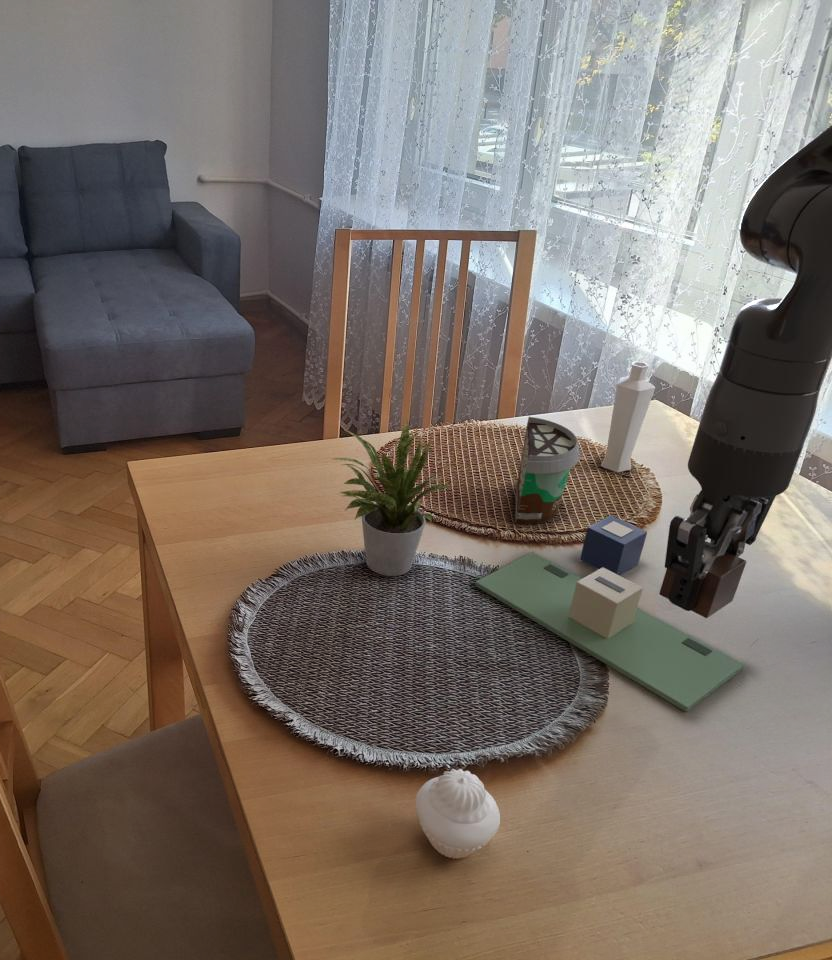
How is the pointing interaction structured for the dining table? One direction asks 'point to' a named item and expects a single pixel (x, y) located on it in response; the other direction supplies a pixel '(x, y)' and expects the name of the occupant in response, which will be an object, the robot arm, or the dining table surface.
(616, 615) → the cream block
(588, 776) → the dining table surface
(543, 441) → the food container
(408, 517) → the house plant
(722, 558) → the walnut block
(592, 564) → the navy block
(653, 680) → the green board
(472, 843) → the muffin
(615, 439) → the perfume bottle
